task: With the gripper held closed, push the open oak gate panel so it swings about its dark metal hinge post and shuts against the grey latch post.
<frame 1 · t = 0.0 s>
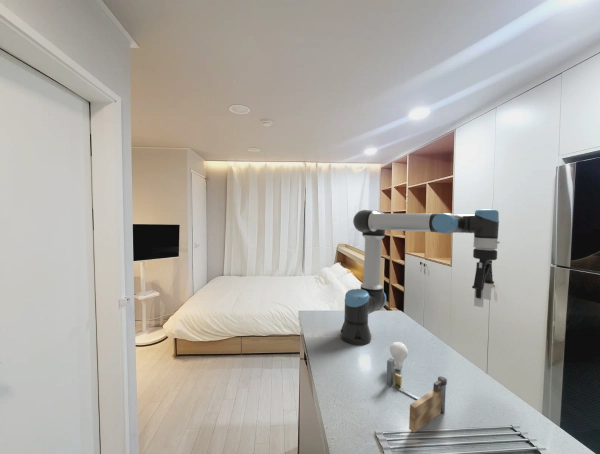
hand: (482, 302, 98), 28 cm above the worktop, fingers open, 13 cm apart
gate: (428, 402, 74), point 6 cm above the worktop, hinge at 80.0°
gate frame: (440, 411, 78), on the worktop
light bulb: (398, 370, 99), on the worktop
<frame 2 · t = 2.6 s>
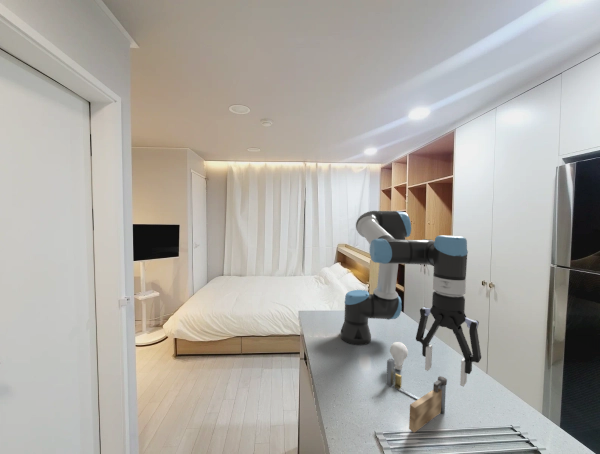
hand: (445, 375, 68), 17 cm above the worktop, fingers open, 8 cm apart
nothing on the worktop moved.
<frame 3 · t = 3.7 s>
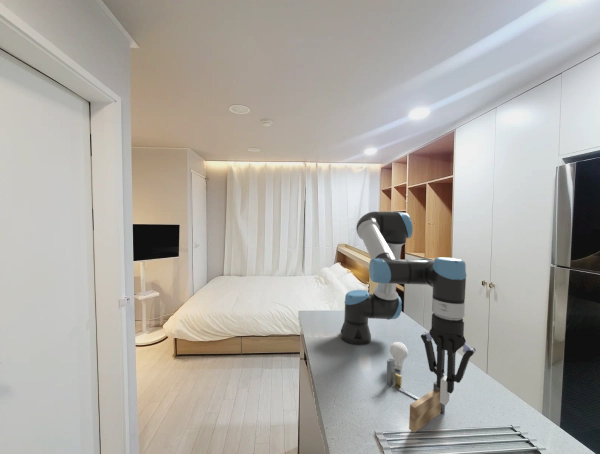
hand: (444, 401, 68), 10 cm above the worktop, fingers closed
nothing on the worktop moved.
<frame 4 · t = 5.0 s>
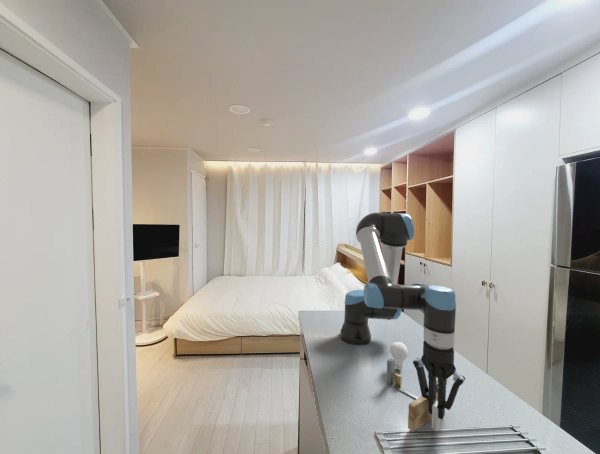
hand: (436, 426, 69), 2 cm above the worktop, fingers closed
gate: (428, 402, 74), point 6 cm above the worktop, hinge at 78.5°, touching gripper
everything else where it was.
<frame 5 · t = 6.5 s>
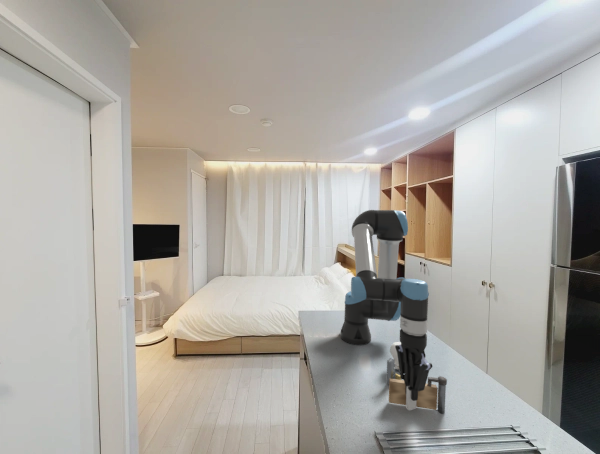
hand: (411, 407, 76), 2 cm above the worktop, fingers closed
gate: (417, 390, 79), point 6 cm above the worktop, hinge at 36.2°, touching gripper
everything else where it was.
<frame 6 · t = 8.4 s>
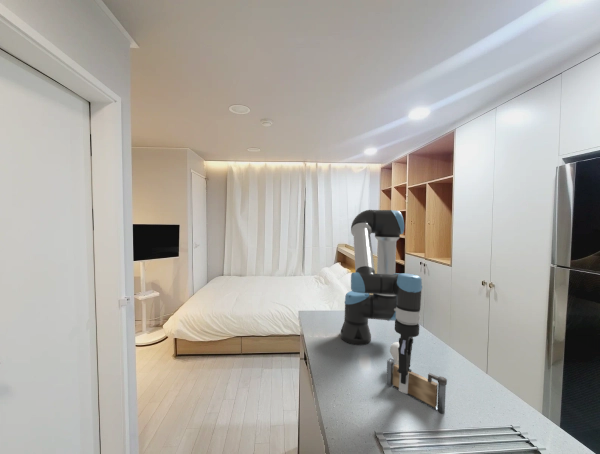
hand: (403, 391, 83), 2 cm above the worktop, fingers closed
gate: (418, 382, 83), point 6 cm above the worktop, hinge at -1.1°, touching gate frame, gripper
everything else where it was.
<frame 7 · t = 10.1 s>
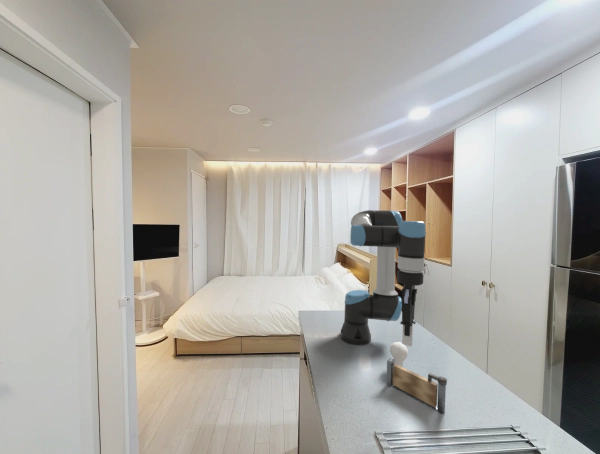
hand: (407, 344, 79), 20 cm above the worktop, fingers closed
gate: (418, 382, 83), point 6 cm above the worktop, hinge at -1.1°
everything else where it was.
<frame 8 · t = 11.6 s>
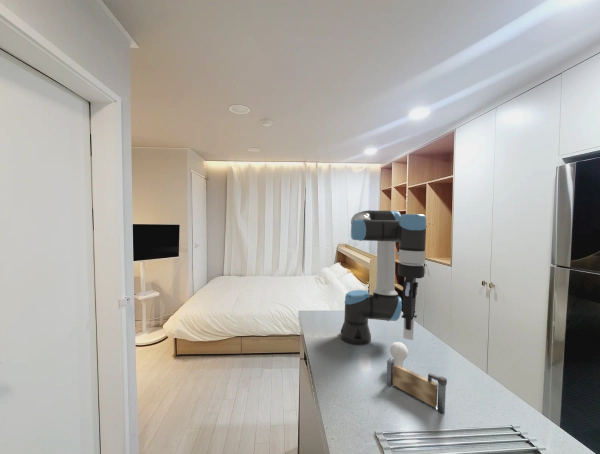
hand: (408, 338, 78), 22 cm above the worktop, fingers closed
nothing on the worktop moved.
at the end: gate at -1° (first picture: +80°) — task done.
